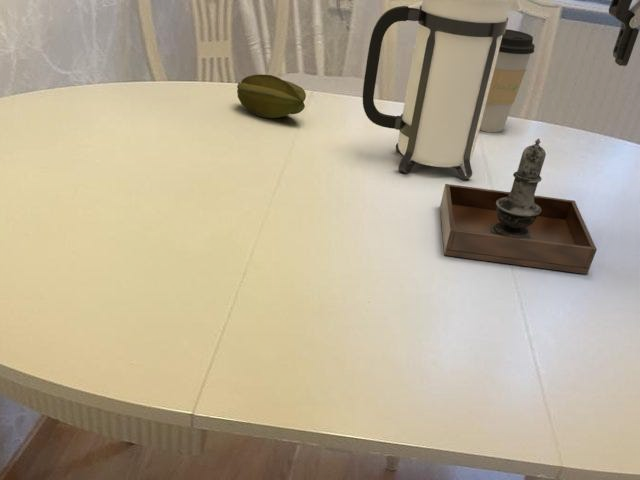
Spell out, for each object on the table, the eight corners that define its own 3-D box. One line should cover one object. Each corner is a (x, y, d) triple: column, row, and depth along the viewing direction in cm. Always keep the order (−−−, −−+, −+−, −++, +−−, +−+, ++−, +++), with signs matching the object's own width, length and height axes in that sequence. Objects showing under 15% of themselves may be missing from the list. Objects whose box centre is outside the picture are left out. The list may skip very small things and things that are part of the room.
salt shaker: (538, 231, 101) (568, 138, 93) (525, 246, 97) (556, 150, 89) (496, 219, 103) (522, 127, 95) (482, 233, 99) (508, 138, 91)
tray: (566, 223, 106) (574, 200, 104) (587, 274, 94) (596, 249, 92) (439, 206, 107) (445, 183, 105) (444, 255, 95) (450, 230, 93)
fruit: (298, 107, 137) (302, 67, 133) (304, 129, 128) (308, 87, 124) (235, 103, 136) (237, 62, 132) (237, 124, 127) (238, 81, 123)
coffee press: (427, 142, 129) (471, -75, 109) (497, 174, 120) (560, -56, 100) (350, 155, 120) (382, -76, 100) (420, 191, 111) (471, -56, 91)
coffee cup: (492, 138, 133) (517, 42, 123) (450, 123, 138) (471, 29, 128) (522, 130, 138) (548, 38, 128) (480, 116, 143) (502, 25, 133)
